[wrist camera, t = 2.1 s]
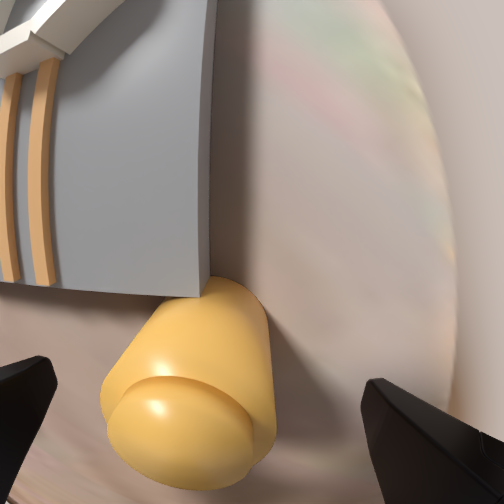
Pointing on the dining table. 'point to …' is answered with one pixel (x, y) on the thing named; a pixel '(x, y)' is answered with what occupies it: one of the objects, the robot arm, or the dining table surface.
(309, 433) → the dining table surface
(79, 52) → the plate
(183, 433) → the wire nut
